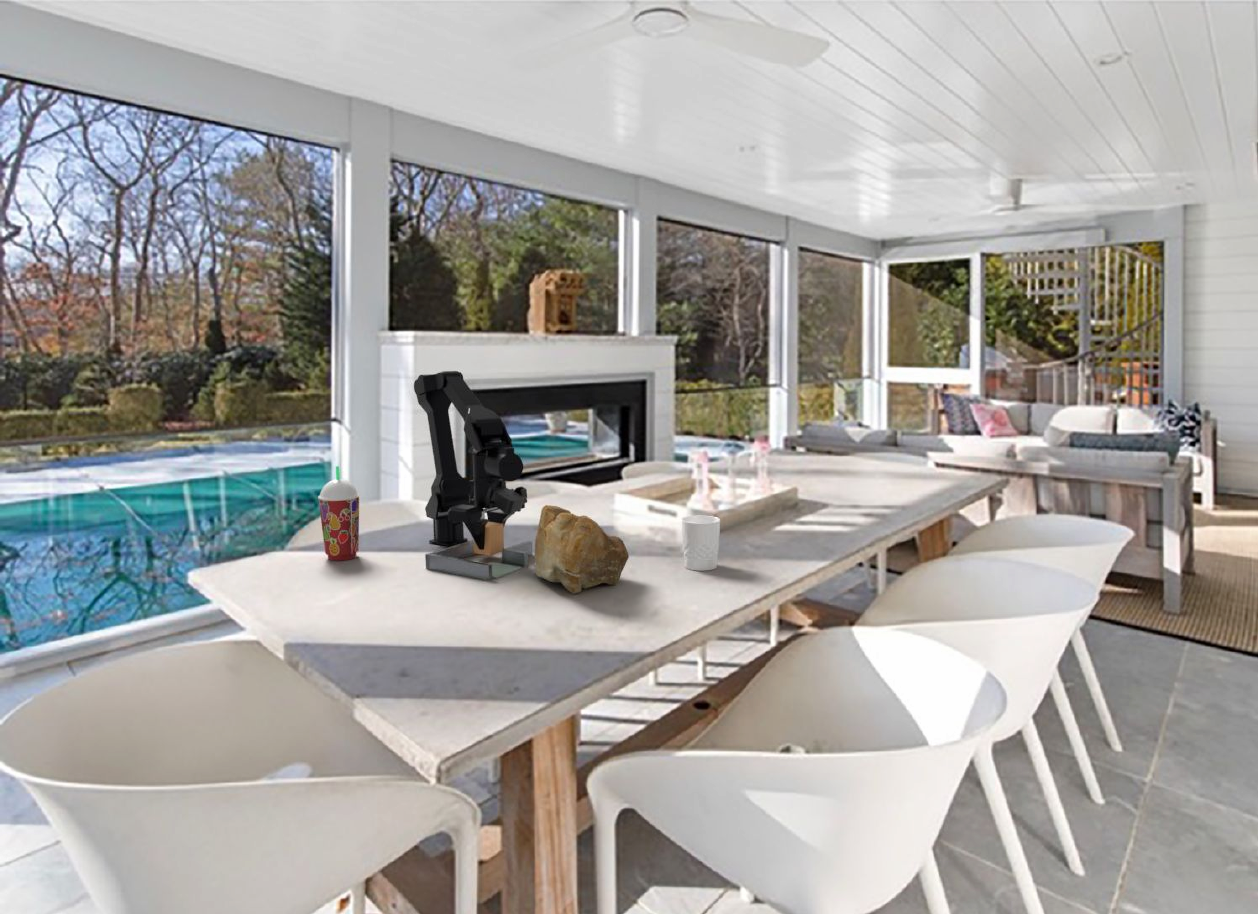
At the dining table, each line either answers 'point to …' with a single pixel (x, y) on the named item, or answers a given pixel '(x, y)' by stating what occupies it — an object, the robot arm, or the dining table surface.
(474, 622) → the dining table surface
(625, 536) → the dining table surface
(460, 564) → the steel rail course
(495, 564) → the pad
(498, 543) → the orange block
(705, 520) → the white cup
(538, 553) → the rough brown rock
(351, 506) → the smoothie
